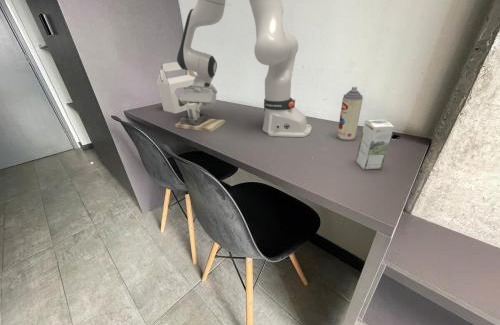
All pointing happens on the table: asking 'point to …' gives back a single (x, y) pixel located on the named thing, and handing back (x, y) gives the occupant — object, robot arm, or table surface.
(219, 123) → the dock board
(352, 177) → the table surface
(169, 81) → the gable box
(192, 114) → the plug block
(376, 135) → the syrup box
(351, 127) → the aerosol can
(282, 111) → the robot arm
